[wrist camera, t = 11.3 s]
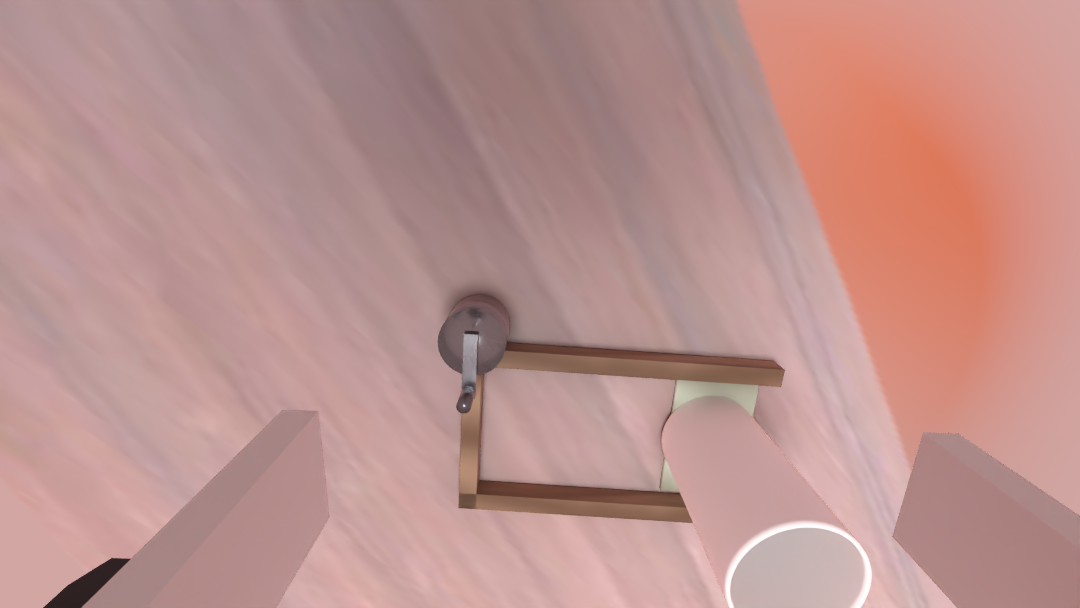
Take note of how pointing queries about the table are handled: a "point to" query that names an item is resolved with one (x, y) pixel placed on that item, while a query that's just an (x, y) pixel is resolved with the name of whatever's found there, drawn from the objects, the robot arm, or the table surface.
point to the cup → (759, 514)
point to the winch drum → (474, 341)
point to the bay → (688, 370)
